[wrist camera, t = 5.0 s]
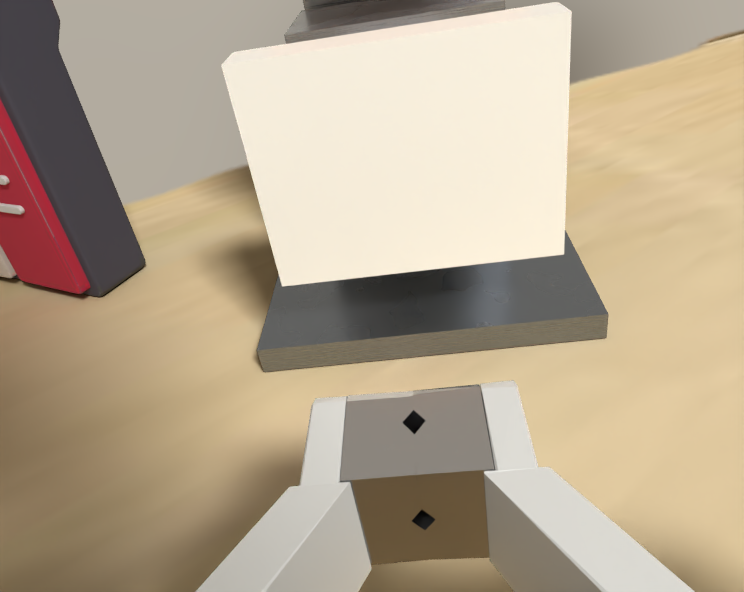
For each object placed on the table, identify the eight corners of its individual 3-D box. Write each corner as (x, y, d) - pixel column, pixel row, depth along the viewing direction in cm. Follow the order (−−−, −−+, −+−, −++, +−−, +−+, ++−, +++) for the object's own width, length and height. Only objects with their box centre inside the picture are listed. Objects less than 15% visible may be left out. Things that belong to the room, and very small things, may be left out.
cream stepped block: (282, 286, 20) (221, 65, 16) (307, 191, 26) (268, 15, 22) (563, 254, 19) (571, 11, 15) (520, 163, 25) (518, -26, 21)
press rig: (263, 371, 22) (28, -352, 12) (312, 181, 36) (225, -222, 26) (606, 338, 21) (675, -503, 10) (518, 154, 35) (511, -280, 25)
